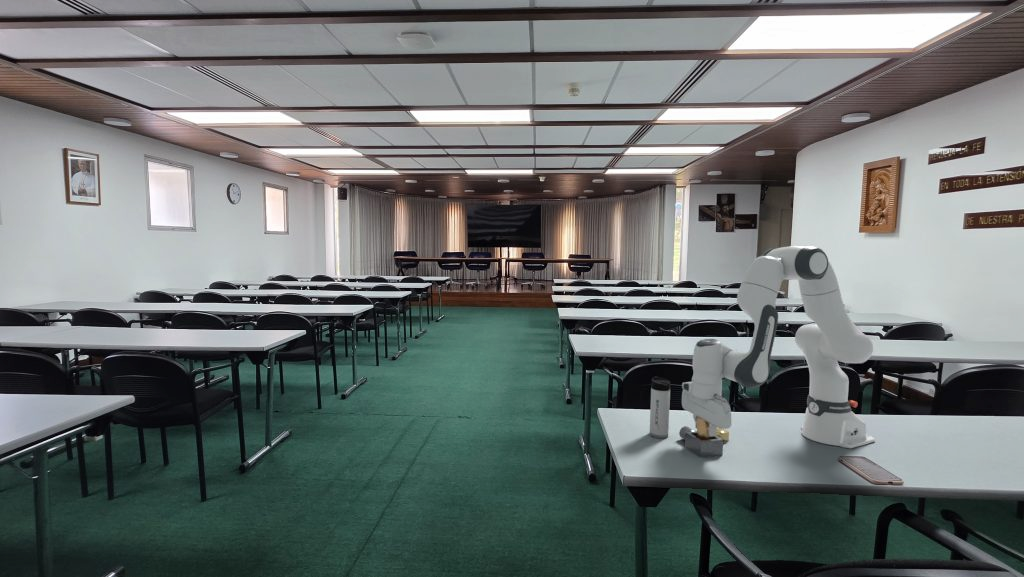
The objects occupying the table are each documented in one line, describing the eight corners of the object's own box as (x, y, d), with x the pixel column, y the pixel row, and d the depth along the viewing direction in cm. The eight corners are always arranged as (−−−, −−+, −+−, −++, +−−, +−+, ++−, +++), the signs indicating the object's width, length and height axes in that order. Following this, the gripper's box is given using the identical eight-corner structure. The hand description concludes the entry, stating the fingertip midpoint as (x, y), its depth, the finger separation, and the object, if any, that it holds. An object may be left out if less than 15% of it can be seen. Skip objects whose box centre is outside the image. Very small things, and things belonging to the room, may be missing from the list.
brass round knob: (721, 436, 163) (722, 427, 163) (731, 441, 158) (732, 433, 158) (709, 437, 162) (709, 429, 162) (719, 443, 157) (719, 434, 157)
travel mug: (660, 430, 167) (662, 375, 166) (672, 437, 161) (674, 380, 160) (645, 432, 166) (647, 377, 164) (656, 439, 159) (658, 382, 158)
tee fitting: (694, 437, 161) (695, 423, 161) (722, 454, 148) (723, 439, 147) (674, 439, 159) (675, 425, 159) (700, 457, 146) (701, 441, 145)
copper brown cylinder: (705, 444, 153) (706, 415, 152) (714, 450, 149) (715, 419, 148) (693, 446, 152) (694, 416, 151) (702, 451, 148) (703, 420, 147)
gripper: (737, 399, 140) (735, 444, 141) (695, 381, 160) (693, 420, 161) (719, 401, 138) (717, 446, 139) (679, 382, 158) (677, 421, 159)
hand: (704, 432), depth 150 cm, fingers closed on copper brown cylinder, 4 cm apart
